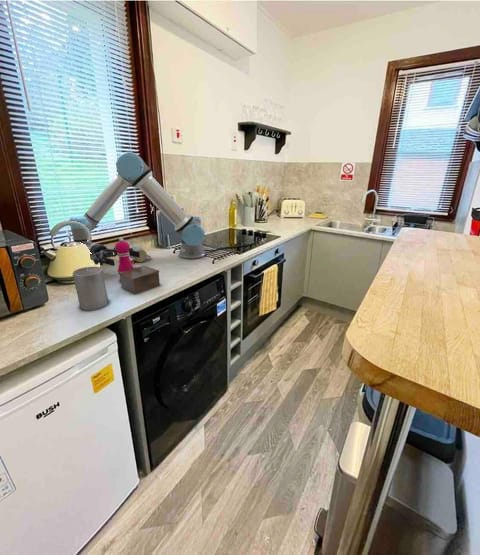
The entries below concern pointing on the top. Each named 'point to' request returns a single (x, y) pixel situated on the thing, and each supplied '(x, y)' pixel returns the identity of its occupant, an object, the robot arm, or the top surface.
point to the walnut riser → (139, 279)
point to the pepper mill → (123, 256)
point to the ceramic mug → (142, 254)
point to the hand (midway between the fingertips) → (126, 258)
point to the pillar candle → (90, 288)
